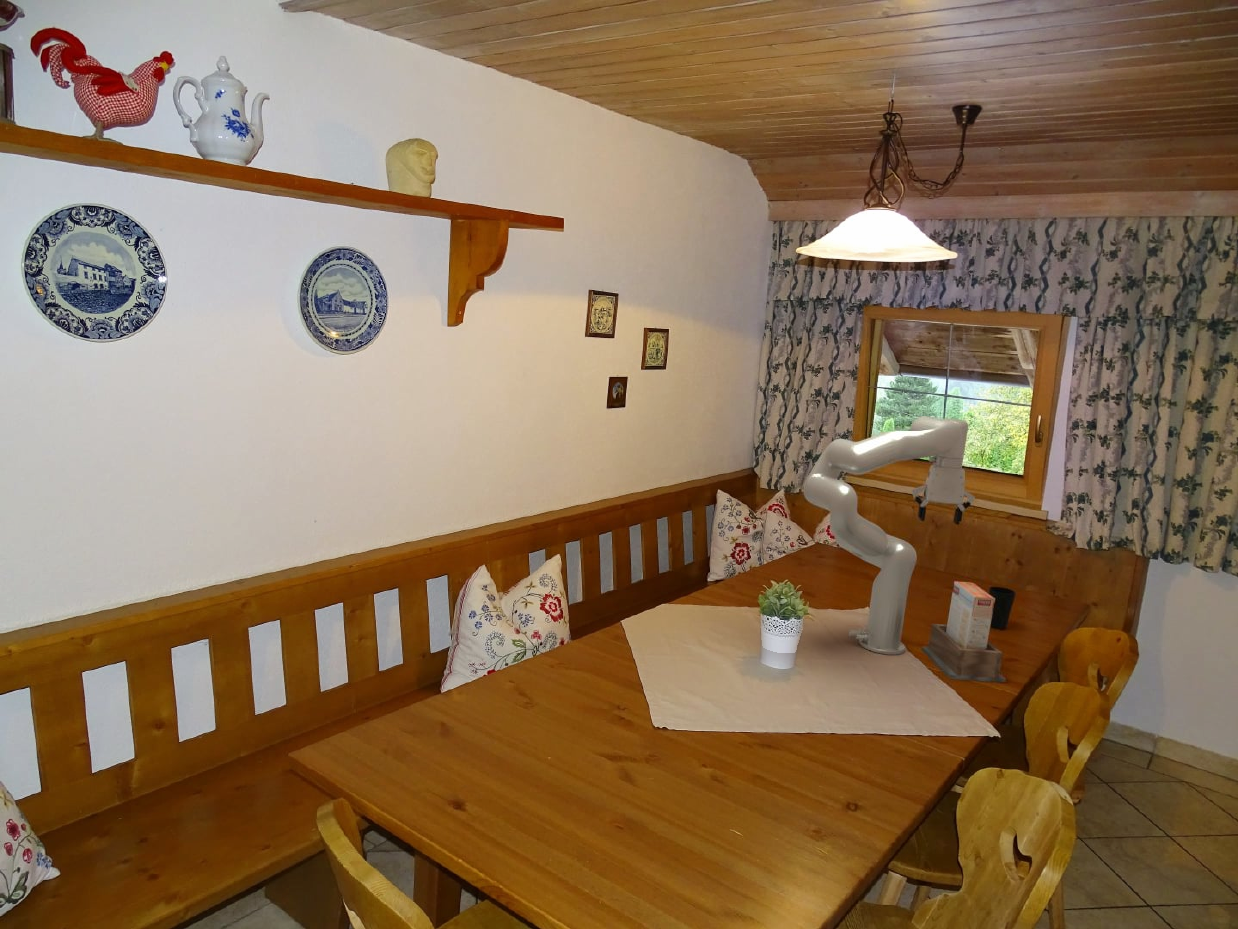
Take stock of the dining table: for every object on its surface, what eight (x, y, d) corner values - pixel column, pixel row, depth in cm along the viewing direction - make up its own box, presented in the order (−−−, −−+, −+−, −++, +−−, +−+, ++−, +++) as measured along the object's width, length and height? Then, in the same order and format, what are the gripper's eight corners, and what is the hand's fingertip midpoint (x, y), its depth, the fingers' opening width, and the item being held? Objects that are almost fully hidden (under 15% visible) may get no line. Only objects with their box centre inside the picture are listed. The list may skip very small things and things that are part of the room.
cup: (1005, 633, 272) (1012, 596, 270) (980, 626, 277) (986, 589, 275) (1012, 627, 278) (1018, 591, 276) (987, 620, 283) (993, 584, 281)
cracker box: (983, 673, 235) (996, 598, 231) (961, 671, 235) (973, 596, 231) (963, 653, 249) (974, 581, 245) (942, 651, 249) (953, 580, 245)
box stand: (949, 678, 232) (954, 649, 230) (921, 649, 251) (925, 622, 250) (1005, 682, 232) (1010, 654, 231) (972, 653, 252) (977, 626, 251)
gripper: (920, 461, 245) (911, 521, 247) (983, 468, 243) (974, 528, 246) (913, 457, 252) (904, 515, 255) (975, 463, 251) (965, 522, 254)
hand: (938, 521), depth 251 cm, fingers open, 9 cm apart
